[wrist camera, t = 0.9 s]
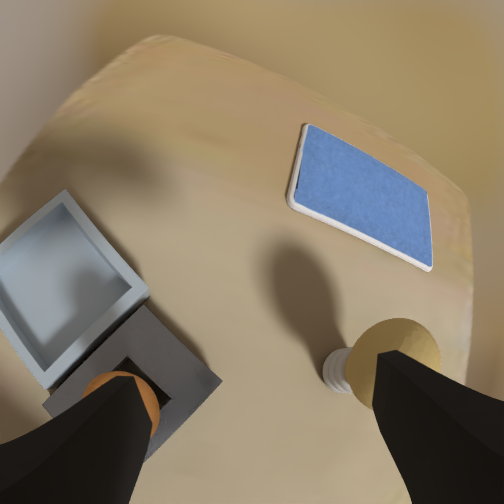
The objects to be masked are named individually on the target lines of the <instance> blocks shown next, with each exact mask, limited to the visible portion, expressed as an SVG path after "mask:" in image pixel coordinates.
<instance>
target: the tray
mask: <svg viewBox="0 0 504 504" xmlns="http://www.w3.org/2000/svg"><path fill="white" fill-rule="evenodd" d="M148 297H149V287H148V286H147V285H146V284H145V283H144V282H143V281H142V280H141V278H140V277H139V276H138V275H137V274H136V273H135V272H134V271H133V270H132V269H131V267H130V266H129V265H128V264H127V263H126V262H125V261H124V260H123V258H122V257H121V256H120V255H119V254H118V253H117V252H116V250H115V249H114V248H113V247H112V246H111V245H110V243H109V242H108V241H107V240H106V239H105V238H104V236H103V235H102V234H101V233H100V232H99V230H98V229H97V228H96V227H95V226H94V224H93V223H92V222H91V221H90V219H89V218H88V217H87V216H86V214H85V213H84V212H83V211H82V209H81V208H80V207H79V206H78V204H77V203H76V202H75V200H74V199H73V198H72V197H71V195H70V194H69V193H68V191H67V190H66V189H64V190H63V191H62V192H60V193H59V194H58V195H56V196H55V197H54V198H53V199H51V200H50V201H49V202H48V203H46V204H45V205H44V206H43V207H41V208H40V209H39V210H38V211H37V212H35V213H34V214H33V215H32V216H31V217H30V218H28V219H27V220H26V221H25V222H24V223H23V224H21V225H20V226H19V227H18V228H17V229H16V230H15V231H14V232H13V233H11V234H10V235H9V236H8V237H7V238H6V239H5V240H4V241H3V242H2V243H1V244H0V328H1V330H2V331H3V333H4V334H5V336H6V337H7V339H8V341H9V342H10V344H11V345H12V346H13V348H14V349H15V351H16V352H17V354H18V355H19V357H20V358H21V359H22V361H23V362H24V363H25V365H26V366H27V368H28V369H29V370H30V372H31V373H32V374H33V375H34V377H35V378H36V379H37V381H38V382H39V383H40V384H41V386H42V387H43V388H44V389H45V390H47V389H52V388H56V387H57V386H58V385H59V384H60V383H61V382H62V381H63V380H64V379H65V378H66V377H67V376H68V375H69V374H70V373H71V372H72V371H73V370H74V369H75V368H76V367H77V366H78V365H79V364H80V363H81V362H82V361H83V360H84V359H85V358H86V357H87V356H88V355H89V354H90V353H91V352H92V351H93V350H94V349H95V348H96V347H97V346H98V345H99V344H100V343H101V342H102V341H103V340H104V339H105V338H107V337H108V336H109V335H110V334H111V333H112V332H113V331H114V330H115V329H116V328H117V327H118V326H119V325H120V324H121V323H122V322H123V321H124V320H125V319H126V318H127V317H128V316H129V315H130V314H131V313H133V312H134V311H135V310H136V309H137V308H138V307H139V306H140V305H141V304H142V303H143V302H144V301H145V300H146V299H147V298H148Z"/></svg>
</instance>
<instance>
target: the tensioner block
mask: <svg viewBox="0 0 504 504" xmlns="http://www.w3.org/2000/svg"><path fill="white" fill-rule="evenodd" d="M128 358H130V359H131V360H132V361H133V362H134V363H135V364H136V365H137V366H138V367H139V368H140V369H141V370H142V371H143V372H144V373H145V374H146V375H147V376H148V377H149V378H150V379H151V380H152V381H153V382H154V383H155V384H156V385H157V386H159V387H160V388H161V389H162V390H163V391H164V392H165V393H166V394H167V395H168V397H167V398H166V399H165V400H164V401H163V402H162V403H161V404H160V405H159V410H160V419H159V424H158V427H157V429H156V431H155V433H154V434H153V436H152V437H151V438H150V441H149V446H148V450H147V453H146V456H145V459H144V462H145V461H146V460H147V459H148V458H149V457H150V456H151V455H152V454H153V453H154V452H155V451H156V450H157V449H158V448H159V447H160V446H161V445H162V444H163V443H164V442H165V441H166V440H167V439H168V438H169V437H170V436H171V435H172V434H173V433H174V432H175V431H176V430H177V429H178V428H179V427H180V426H181V425H182V424H183V423H184V422H185V421H186V420H187V419H188V418H189V417H190V416H191V415H192V414H193V413H194V412H195V410H196V409H197V408H198V407H199V406H200V405H201V404H202V403H203V402H204V401H205V400H206V399H207V398H208V397H209V396H210V394H211V393H212V392H213V391H214V390H215V389H216V388H217V387H218V386H219V385H220V384H221V382H222V380H221V379H220V378H219V377H218V376H217V375H216V374H214V373H213V372H212V371H211V370H210V369H209V368H208V367H207V366H206V365H205V364H203V363H202V362H201V361H200V360H199V359H198V358H197V357H196V356H195V355H194V354H193V353H192V352H191V351H190V350H189V349H187V348H186V347H185V346H184V345H183V344H182V343H181V342H180V341H179V340H178V339H177V338H176V337H175V336H174V335H173V334H172V333H171V332H170V331H169V330H168V329H167V328H166V327H165V326H164V325H163V324H162V323H161V322H160V321H159V320H158V319H157V318H156V317H155V316H154V315H153V314H152V313H151V312H150V310H149V309H148V308H147V307H146V306H145V305H144V304H143V305H142V306H141V307H140V308H139V309H138V310H137V311H136V312H135V313H134V314H133V315H132V316H131V317H130V318H129V319H128V320H127V321H125V322H124V323H123V324H122V325H121V326H120V327H119V328H118V329H117V330H116V331H115V332H114V333H113V334H112V335H111V336H110V337H109V338H108V339H107V340H106V341H105V342H104V343H103V344H102V345H101V346H100V347H99V348H98V349H97V350H96V351H95V352H94V353H93V354H92V355H91V356H90V357H89V358H88V359H87V360H86V361H85V362H84V363H83V364H82V365H81V366H80V367H79V368H78V369H77V370H76V371H75V372H74V373H73V374H72V375H71V376H70V377H69V378H68V379H67V380H66V381H65V382H64V383H63V384H62V385H61V386H60V387H59V388H58V389H57V390H56V391H55V392H54V393H53V394H52V395H51V396H50V397H49V398H48V399H47V400H46V401H45V402H44V403H43V404H42V406H43V407H44V408H45V409H46V410H47V411H48V413H49V414H50V415H51V416H52V417H53V418H55V417H56V416H58V415H59V414H61V413H62V412H64V411H66V410H67V409H69V408H70V407H71V406H73V405H74V404H76V403H77V402H79V401H80V400H81V399H82V396H83V393H84V391H85V388H86V387H87V385H88V384H89V383H90V382H91V381H92V380H93V379H94V378H95V377H97V376H98V375H101V374H103V373H106V372H112V371H116V370H117V369H118V368H119V367H120V366H121V365H122V364H123V363H124V362H125V361H126V360H127V359H128ZM144 462H143V463H144Z"/></svg>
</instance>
